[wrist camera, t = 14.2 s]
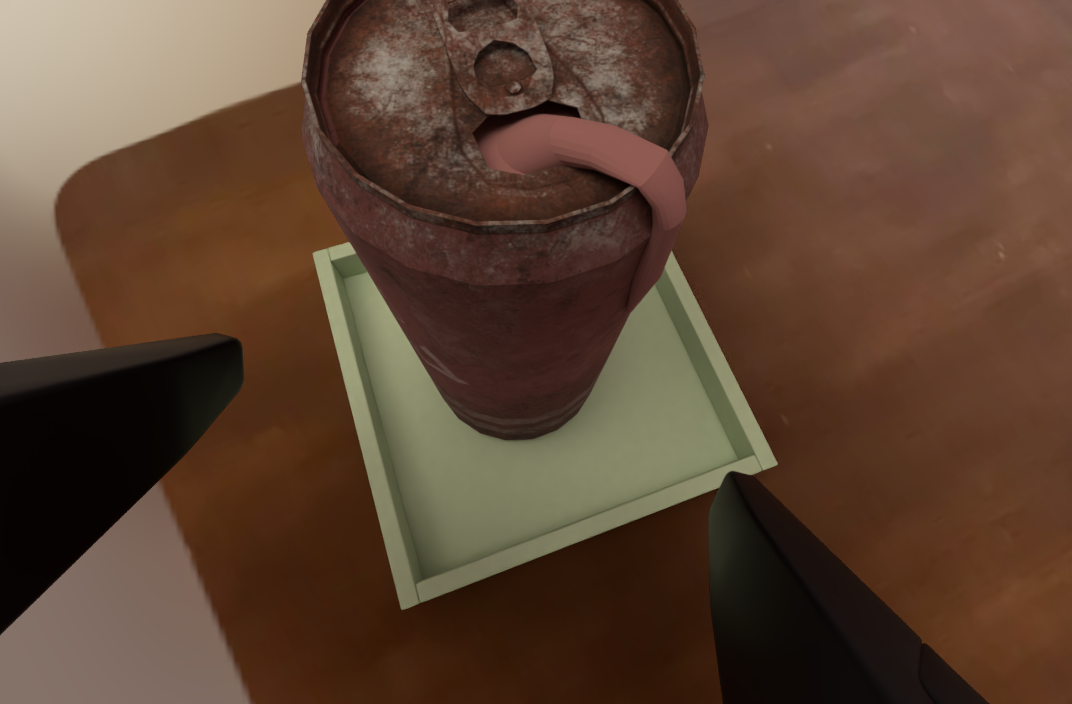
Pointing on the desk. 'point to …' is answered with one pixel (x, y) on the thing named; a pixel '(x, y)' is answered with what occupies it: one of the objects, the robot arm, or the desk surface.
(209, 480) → the desk surface
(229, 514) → the desk surface
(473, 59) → the can
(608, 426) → the tray
